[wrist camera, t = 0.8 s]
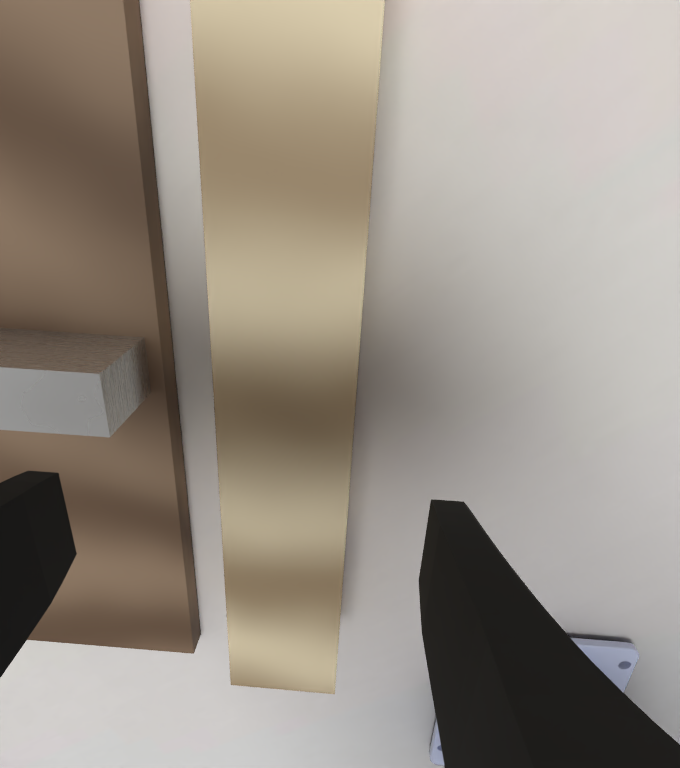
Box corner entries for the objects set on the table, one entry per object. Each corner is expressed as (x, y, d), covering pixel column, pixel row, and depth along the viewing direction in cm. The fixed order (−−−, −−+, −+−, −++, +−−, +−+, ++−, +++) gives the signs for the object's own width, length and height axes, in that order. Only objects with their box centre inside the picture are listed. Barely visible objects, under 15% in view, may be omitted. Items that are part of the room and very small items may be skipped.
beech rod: (340, 608, 23) (334, 694, 19) (253, 600, 23) (230, 684, 19) (389, -70, 13) (396, -159, 9) (233, -77, 13) (180, -167, 9)
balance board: (200, 634, 24) (193, 653, 23) (-29, 615, 24) (-45, 633, 23) (119, -199, 12) (98, -228, 11) (-329, -213, 12) (-385, -243, 11)
